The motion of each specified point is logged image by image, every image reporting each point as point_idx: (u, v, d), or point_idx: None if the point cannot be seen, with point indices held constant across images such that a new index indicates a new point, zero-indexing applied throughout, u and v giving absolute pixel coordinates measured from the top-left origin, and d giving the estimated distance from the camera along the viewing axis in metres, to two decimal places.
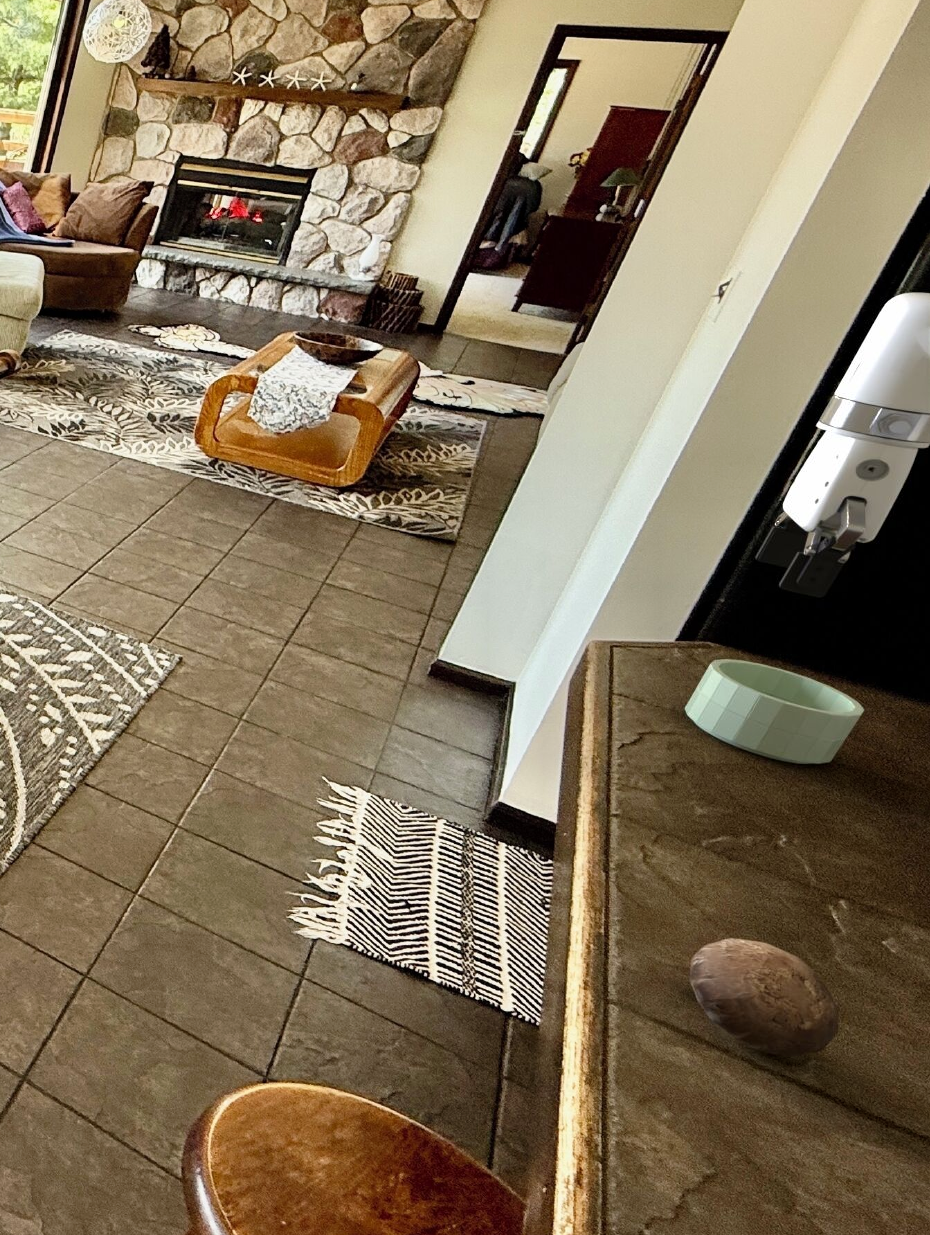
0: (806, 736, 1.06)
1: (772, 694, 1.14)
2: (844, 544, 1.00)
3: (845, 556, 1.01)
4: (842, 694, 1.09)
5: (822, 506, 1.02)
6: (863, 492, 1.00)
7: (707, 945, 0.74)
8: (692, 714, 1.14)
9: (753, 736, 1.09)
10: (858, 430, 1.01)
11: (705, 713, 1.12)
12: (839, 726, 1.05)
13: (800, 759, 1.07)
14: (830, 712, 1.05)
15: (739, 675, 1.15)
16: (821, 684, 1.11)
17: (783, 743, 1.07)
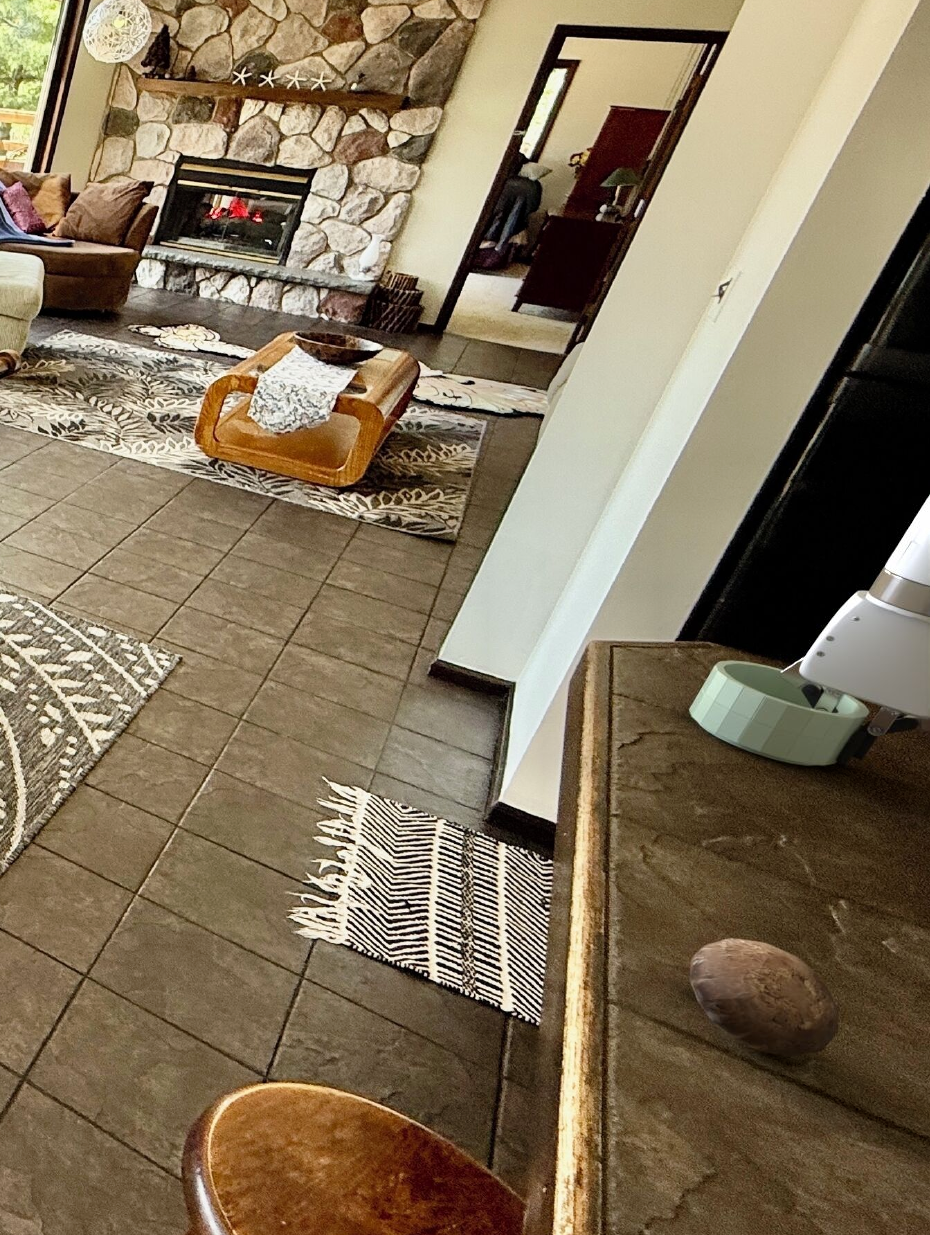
0: (811, 738, 1.06)
1: (777, 696, 1.14)
2: None
3: None
4: (847, 696, 1.09)
5: None
6: None
7: (707, 945, 0.74)
8: (696, 716, 1.14)
9: (757, 738, 1.08)
10: None
11: (709, 714, 1.12)
12: (844, 728, 1.05)
13: (805, 761, 1.07)
14: (835, 714, 1.05)
15: (744, 676, 1.15)
16: None
17: (788, 745, 1.07)
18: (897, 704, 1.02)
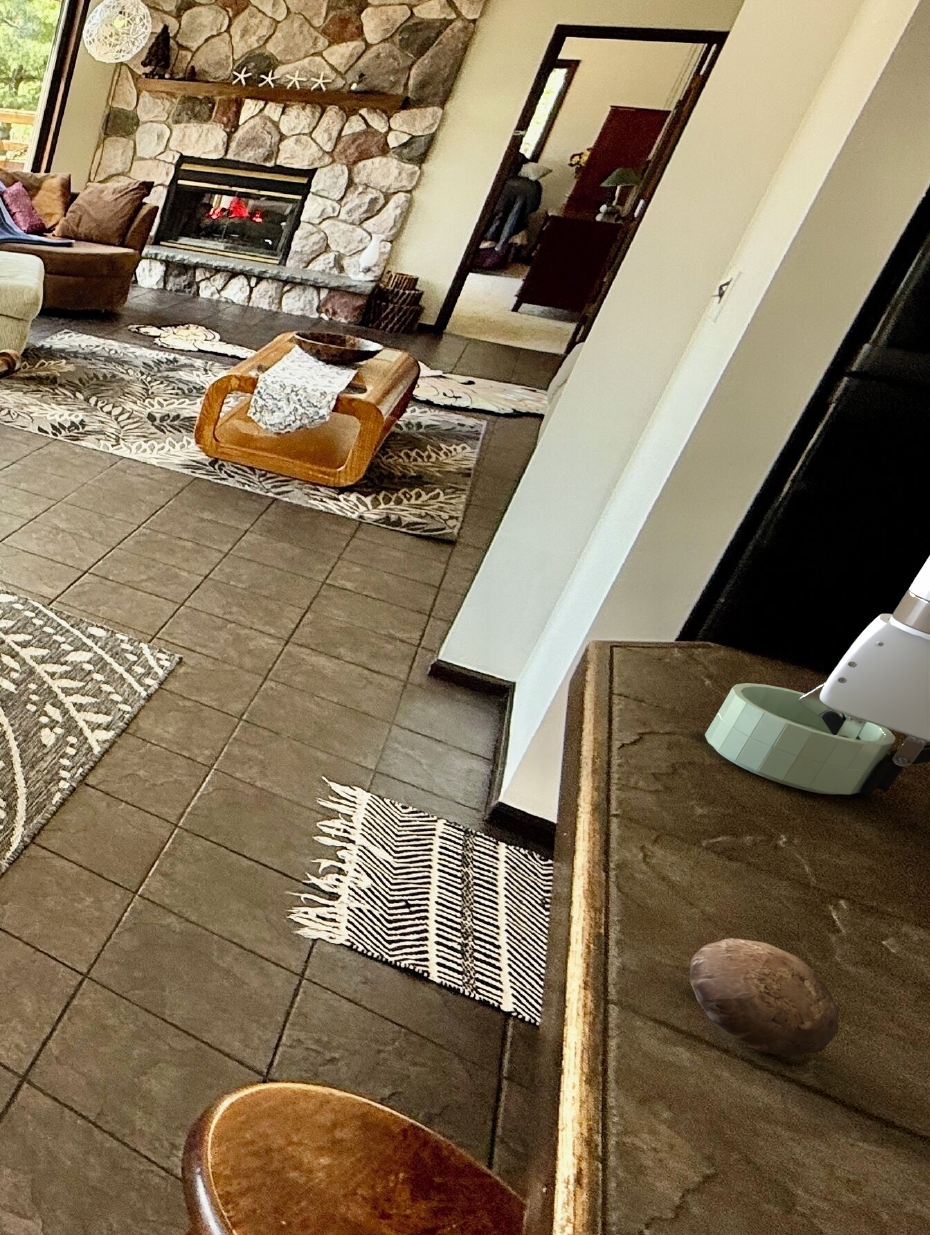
0: (836, 766, 1.01)
1: (795, 720, 1.09)
2: None
3: None
4: None
5: None
6: None
7: (707, 945, 0.74)
8: (713, 742, 1.09)
9: (780, 766, 1.03)
10: None
11: (728, 741, 1.07)
12: (870, 755, 1.00)
13: (829, 790, 1.02)
14: (861, 741, 1.00)
15: (761, 700, 1.10)
16: None
17: (811, 773, 1.02)
18: (924, 733, 0.98)
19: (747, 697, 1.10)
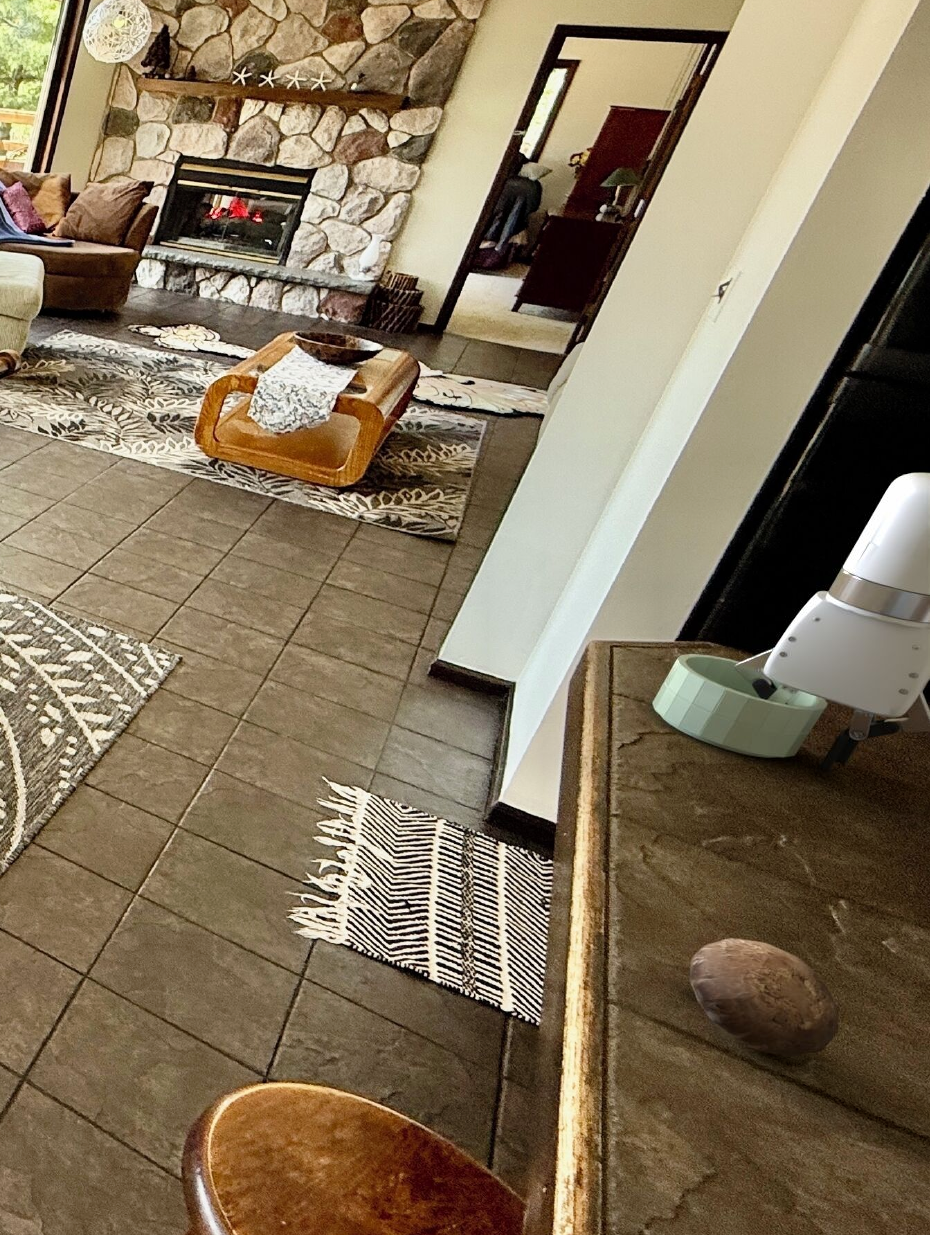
0: (771, 730, 1.07)
1: (738, 689, 1.15)
2: None
3: None
4: None
5: (913, 696, 1.00)
6: None
7: (707, 945, 0.74)
8: (659, 709, 1.15)
9: (719, 730, 1.09)
10: None
11: (672, 708, 1.13)
12: (803, 720, 1.06)
13: (765, 753, 1.08)
14: (794, 706, 1.06)
15: (705, 670, 1.16)
16: None
17: (748, 737, 1.08)
18: (859, 703, 1.03)
19: (692, 667, 1.16)
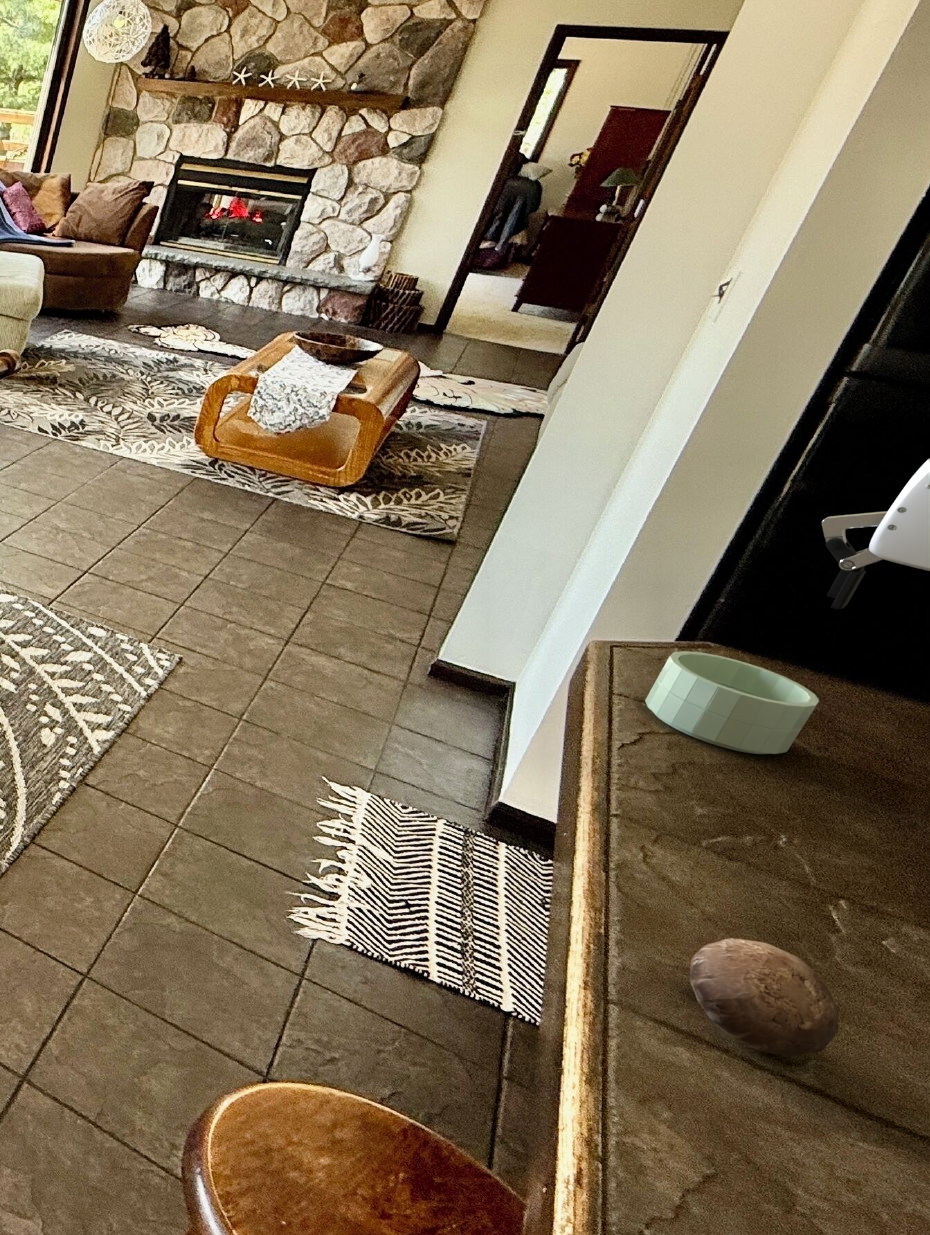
0: (763, 727, 1.07)
1: (730, 686, 1.16)
2: None
3: None
4: (798, 685, 1.10)
5: None
6: None
7: (707, 945, 0.74)
8: (652, 706, 1.15)
9: (712, 727, 1.10)
10: None
11: (665, 705, 1.13)
12: (795, 717, 1.06)
13: (757, 750, 1.08)
14: (786, 703, 1.06)
15: (698, 667, 1.16)
16: (777, 675, 1.12)
17: (741, 734, 1.08)
18: None
19: (685, 664, 1.16)
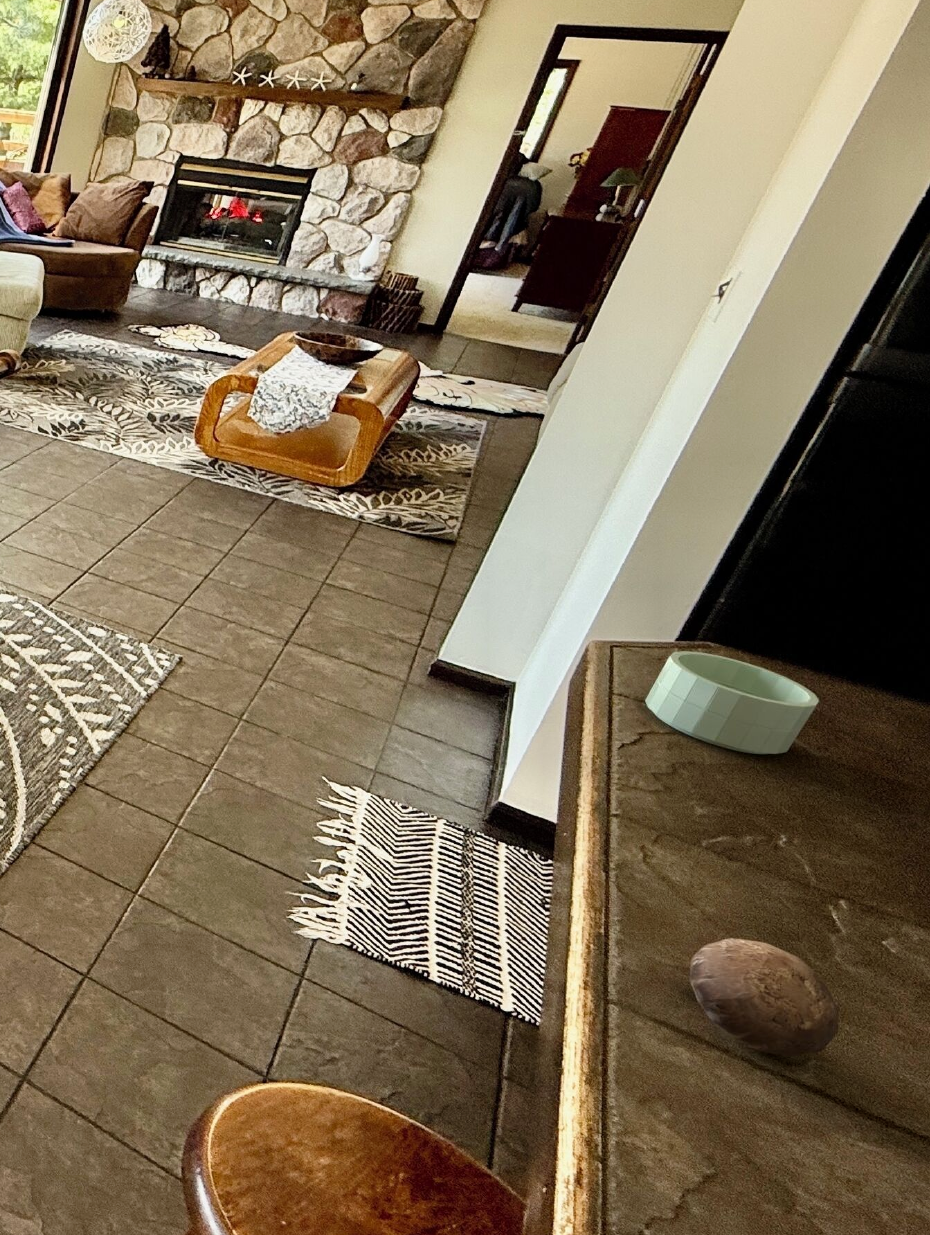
0: (763, 727, 1.07)
1: (730, 686, 1.16)
2: None
3: None
4: (798, 685, 1.10)
5: None
6: None
7: (707, 945, 0.74)
8: (652, 706, 1.15)
9: (712, 727, 1.10)
10: None
11: (665, 705, 1.13)
12: (795, 717, 1.06)
13: (757, 750, 1.08)
14: (786, 703, 1.06)
15: (698, 667, 1.16)
16: (777, 675, 1.12)
17: (741, 734, 1.08)
18: None
19: (685, 664, 1.16)
